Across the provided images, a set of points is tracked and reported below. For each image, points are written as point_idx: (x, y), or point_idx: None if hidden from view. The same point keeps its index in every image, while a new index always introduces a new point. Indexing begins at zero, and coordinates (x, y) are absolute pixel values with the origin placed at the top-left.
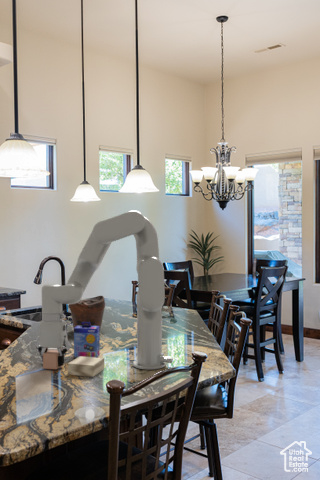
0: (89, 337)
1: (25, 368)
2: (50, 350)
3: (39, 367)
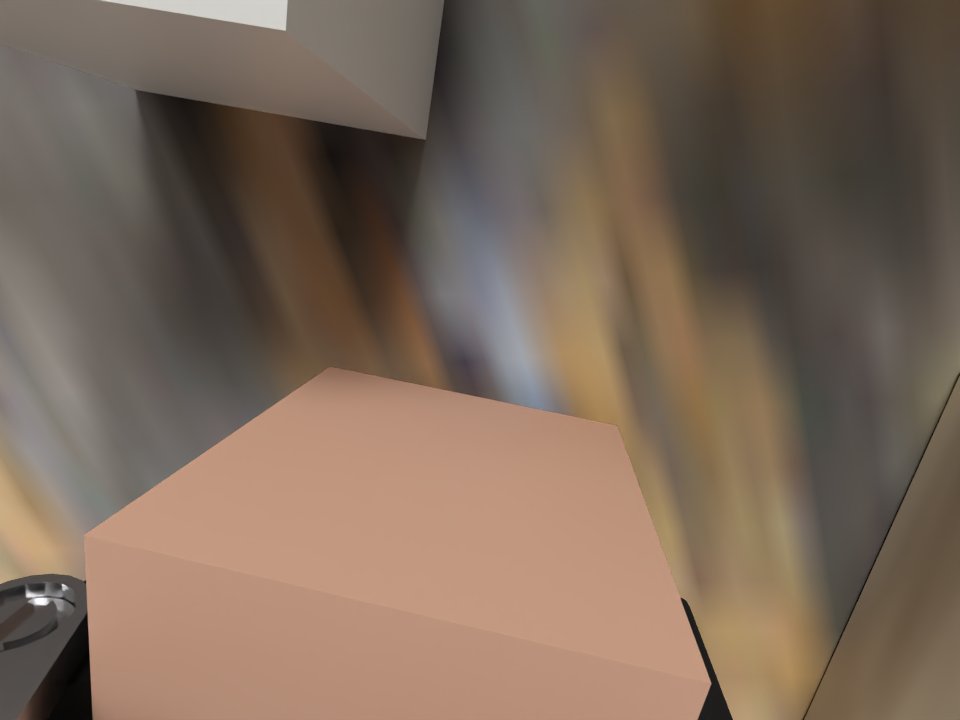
0: None
1: (18, 516)
2: (129, 590)
3: (196, 455)
